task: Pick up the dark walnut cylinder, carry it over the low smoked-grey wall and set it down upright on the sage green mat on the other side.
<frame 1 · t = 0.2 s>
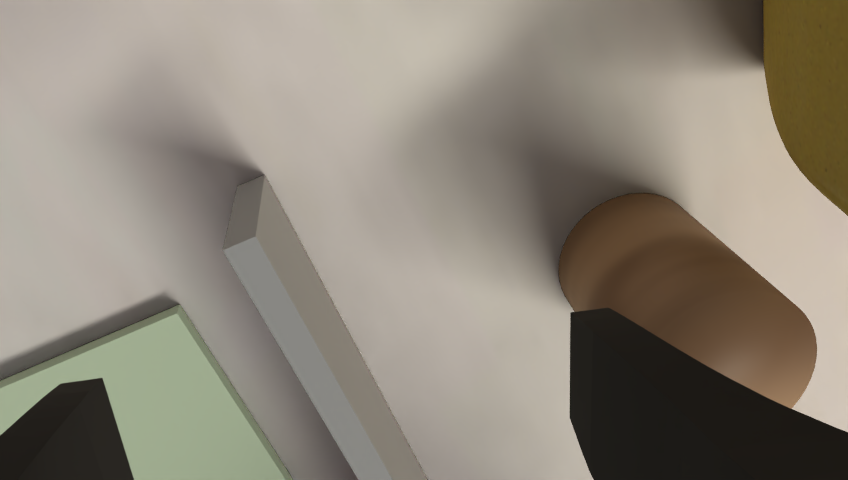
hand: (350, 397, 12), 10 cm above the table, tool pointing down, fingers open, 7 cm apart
grey wall: (370, 398, 24), on the table
walnut cylinder: (628, 260, 23), on the table
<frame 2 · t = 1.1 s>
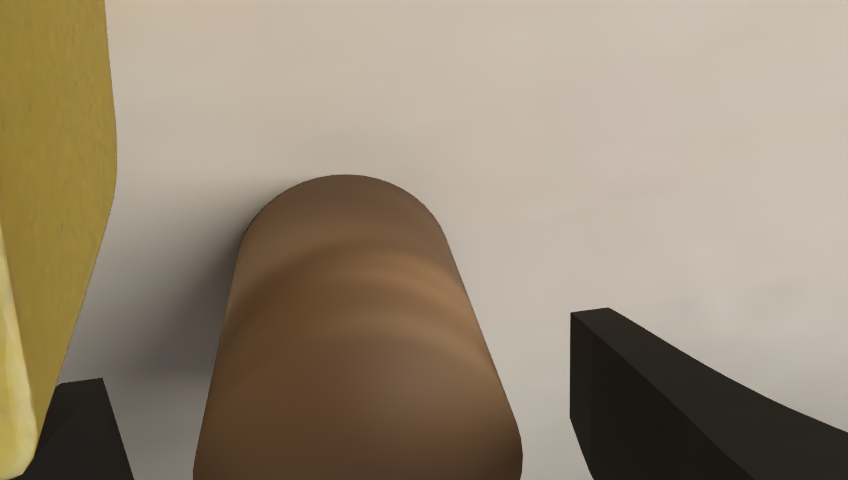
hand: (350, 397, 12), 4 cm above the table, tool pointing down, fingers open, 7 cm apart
walnut cylinder: (345, 275, 16), on the table
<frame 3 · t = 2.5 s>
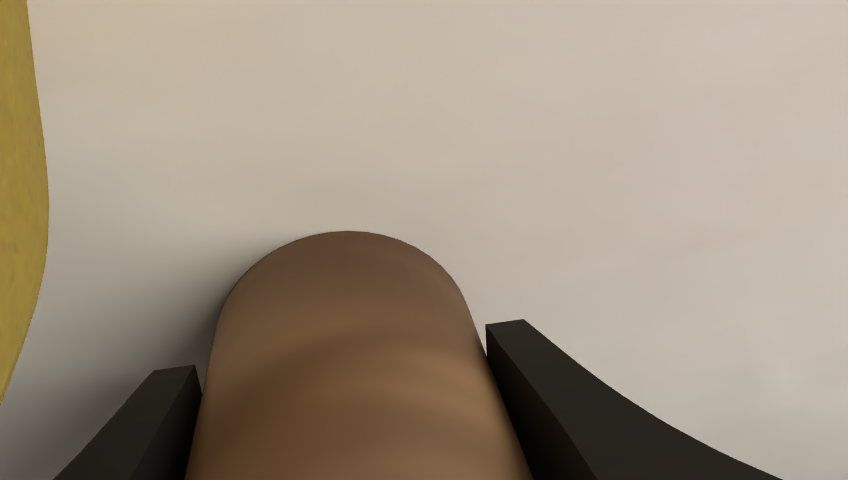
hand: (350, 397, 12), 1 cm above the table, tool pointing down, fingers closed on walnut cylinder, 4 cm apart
walnut cylinder: (346, 348, 13), on the table, touching gripper
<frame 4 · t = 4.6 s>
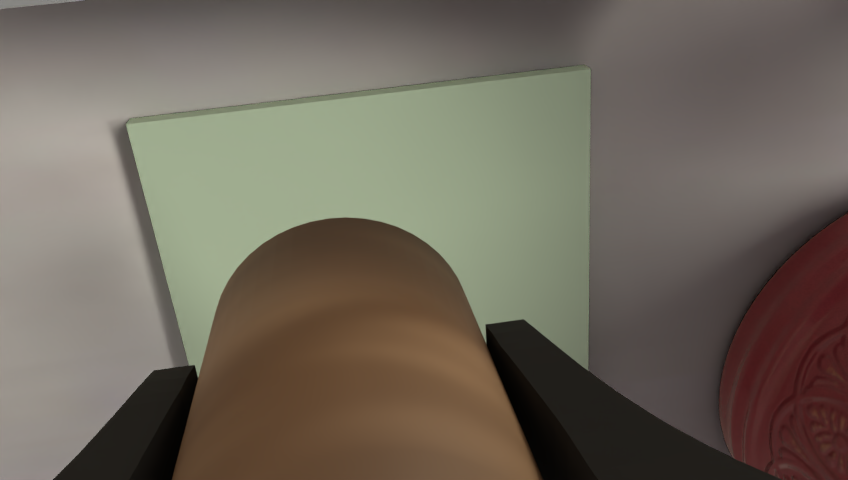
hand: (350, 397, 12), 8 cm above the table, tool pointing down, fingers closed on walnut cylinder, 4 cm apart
green mat: (387, 289, 21), on the table
walnut cylinder: (344, 337, 13), point 7 cm above the table, touching gripper
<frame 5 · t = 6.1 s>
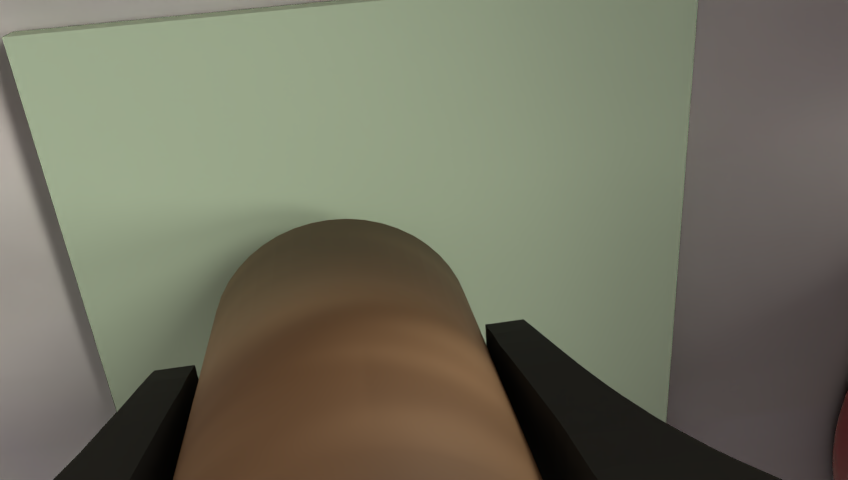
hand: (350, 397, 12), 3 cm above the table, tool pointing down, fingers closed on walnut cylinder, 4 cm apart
green mat: (394, 292, 15), on the table
walnut cylinder: (345, 338, 13), point 2 cm above the table, touching gripper
when the fingers open (3 cm above the table, at t = 7.0 s): walnut cylinder stays where it is, resting on green mat.
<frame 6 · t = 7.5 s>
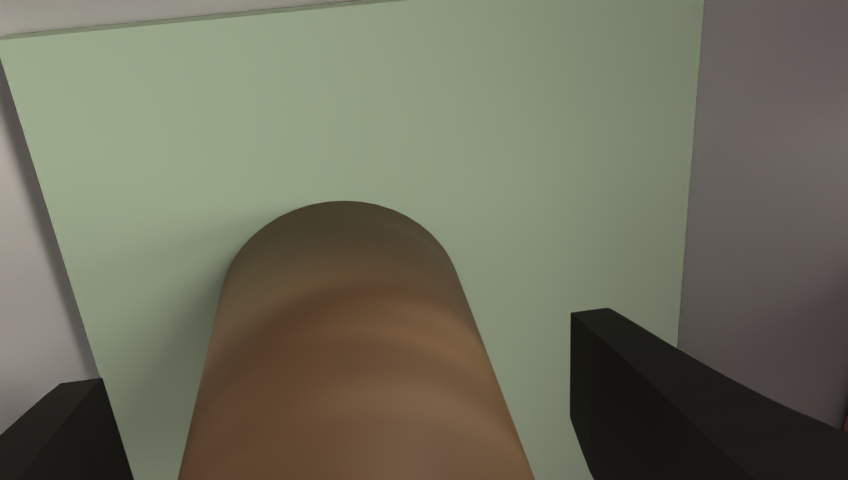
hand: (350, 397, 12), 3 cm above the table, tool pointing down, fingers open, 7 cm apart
green mat: (395, 298, 14), on the table
walnut cylinder: (343, 312, 14), point 1 cm above the table, touching green mat
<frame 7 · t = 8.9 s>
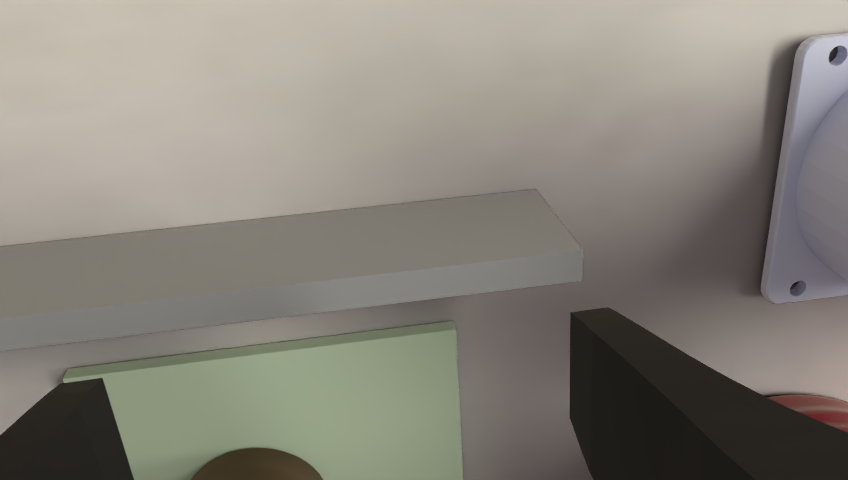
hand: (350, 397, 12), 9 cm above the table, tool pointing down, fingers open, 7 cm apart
grey wall: (246, 233, 20), on the table
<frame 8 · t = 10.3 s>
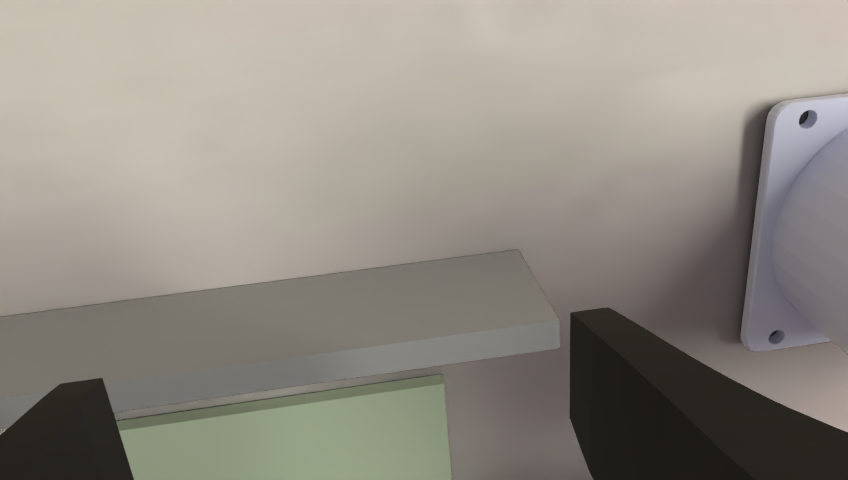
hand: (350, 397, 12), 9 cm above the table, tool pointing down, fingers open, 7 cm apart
grey wall: (239, 298, 21), on the table
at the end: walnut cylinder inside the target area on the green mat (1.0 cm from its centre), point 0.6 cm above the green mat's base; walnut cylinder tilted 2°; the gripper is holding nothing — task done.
